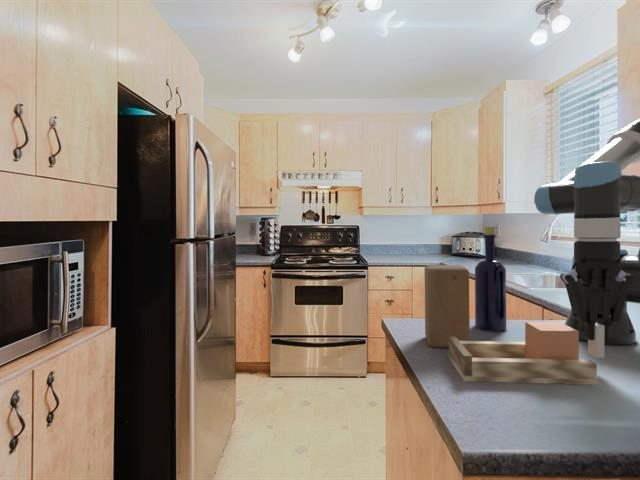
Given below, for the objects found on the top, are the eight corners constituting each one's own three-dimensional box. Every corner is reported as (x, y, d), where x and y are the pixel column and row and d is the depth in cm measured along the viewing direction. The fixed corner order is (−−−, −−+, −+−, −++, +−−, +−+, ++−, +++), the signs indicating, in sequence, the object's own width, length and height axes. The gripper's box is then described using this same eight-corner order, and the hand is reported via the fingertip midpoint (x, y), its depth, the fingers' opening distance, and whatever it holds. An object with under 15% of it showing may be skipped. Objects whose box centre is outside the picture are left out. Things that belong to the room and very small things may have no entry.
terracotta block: (559, 358, 79) (559, 322, 79) (578, 371, 72) (578, 331, 72) (525, 358, 80) (525, 321, 80) (540, 370, 73) (540, 330, 73)
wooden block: (470, 349, 90) (469, 268, 89) (428, 347, 92) (427, 268, 91) (463, 337, 100) (462, 264, 99) (425, 336, 102) (424, 264, 101)
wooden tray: (559, 359, 82) (559, 337, 82) (596, 384, 69) (596, 358, 69) (448, 357, 85) (448, 336, 84) (464, 381, 72) (464, 356, 72)
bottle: (514, 331, 104) (513, 226, 103) (481, 332, 104) (480, 227, 103) (498, 323, 113) (497, 226, 112) (468, 323, 114) (467, 227, 113)
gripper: (618, 238, 77) (617, 349, 78) (552, 239, 79) (552, 348, 79) (645, 240, 70) (645, 362, 70) (572, 241, 71) (572, 361, 72)
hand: (596, 355), depth 75 cm, fingers closed
